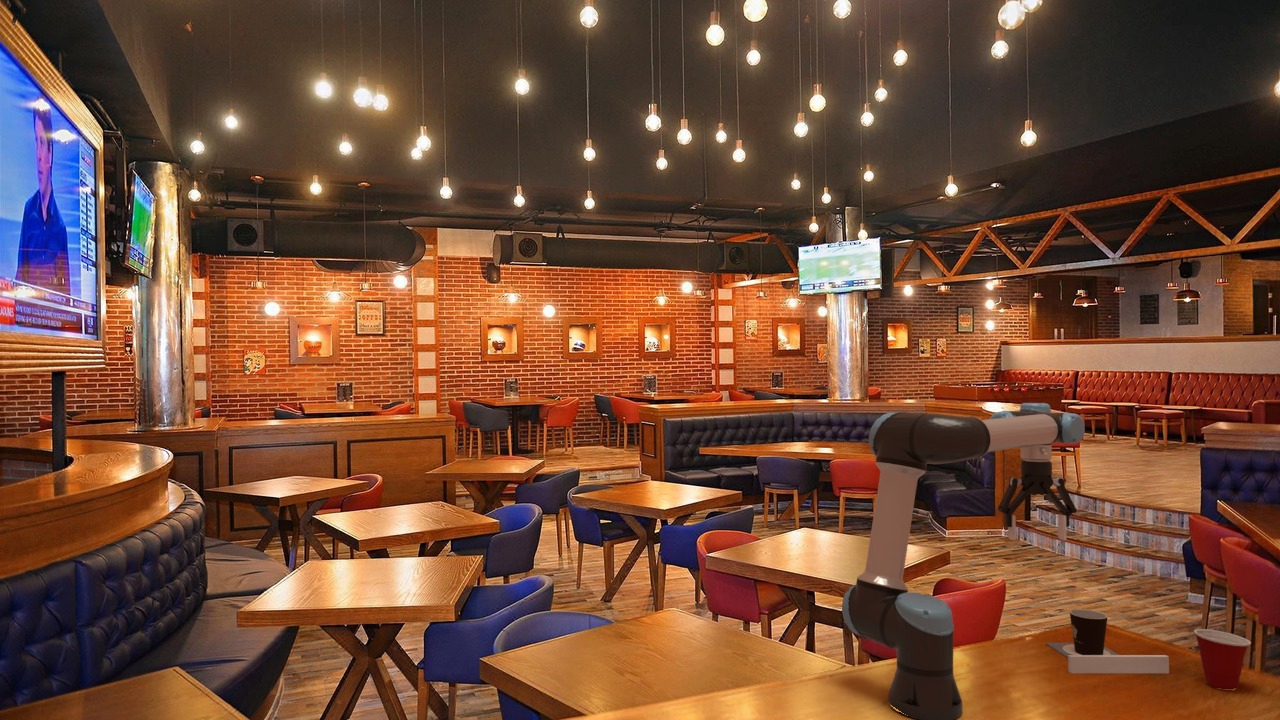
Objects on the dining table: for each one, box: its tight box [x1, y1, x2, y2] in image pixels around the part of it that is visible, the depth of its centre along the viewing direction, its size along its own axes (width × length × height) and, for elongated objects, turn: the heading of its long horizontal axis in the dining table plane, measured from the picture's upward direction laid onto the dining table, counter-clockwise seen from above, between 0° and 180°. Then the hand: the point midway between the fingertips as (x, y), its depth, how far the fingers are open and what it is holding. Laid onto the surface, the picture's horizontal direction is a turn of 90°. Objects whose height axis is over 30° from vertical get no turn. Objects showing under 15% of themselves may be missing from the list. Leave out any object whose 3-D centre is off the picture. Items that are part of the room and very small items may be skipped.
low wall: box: [1067, 654, 1170, 674], centre depth 195 cm, size 24×1×4 cm, turn 90°
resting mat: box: [1045, 642, 1119, 659], centre depth 209 cm, size 14×14×1 cm
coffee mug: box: [1069, 608, 1109, 655], centre depth 209 cm, size 12×9×10 cm
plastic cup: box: [1193, 628, 1252, 689], centre depth 186 cm, size 11×11×12 cm
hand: (1037, 539), depth 215 cm, fingers open, 13 cm apart
